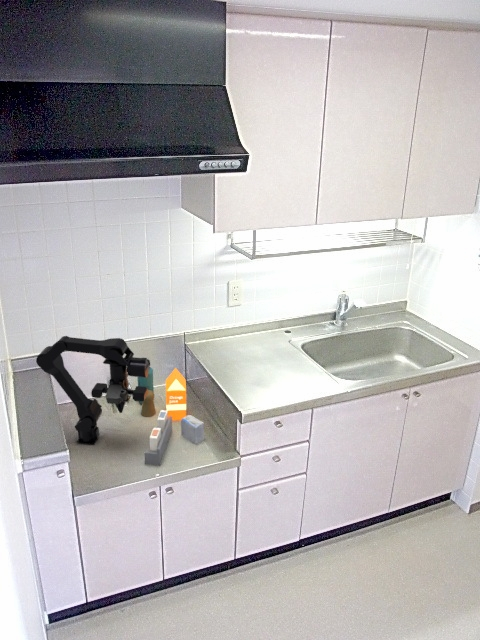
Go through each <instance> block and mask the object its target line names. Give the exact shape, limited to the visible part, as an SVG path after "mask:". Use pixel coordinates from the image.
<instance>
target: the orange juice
mask: <svg viewBox="0 0 480 640" xmlns="http://www.w3.org/2000/svg"><path fill="white" fill-rule="evenodd" d="M186 381H187V380H186V378H185V377H184V376H183V375H182V373H181V372H180V371H179V369H177V367H175V368H174V369H173V370H172V372H171V373H169V375H168V376H167V378H166V379H165V397H166V398H165V400H166V401H165V402H166V403H165V404H166V406H165V407H166V409H165V410H166V411H168V418H169V416H172V422H173V421H181V419H182V418H184V417H186V416H187V385H186V384H187V382H186Z"/></svg>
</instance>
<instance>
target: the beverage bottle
mask: <svg viewBox="0 0 480 640" xmlns="http://www.w3.org/2000/svg"><path fill="white" fill-rule="evenodd" d="M147 361H148V363H149V373H148V376H147V378H145V377H137V386H141V387H146V388H147V389H148V390H151V391H153V392H154V393H155V391H154V389H155V386H154V369H153V367H151V360H150V359H149V358H147ZM154 400H155V398H154V399H153V401H154ZM138 402H139V403H140V404H142V401H138Z"/></svg>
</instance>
